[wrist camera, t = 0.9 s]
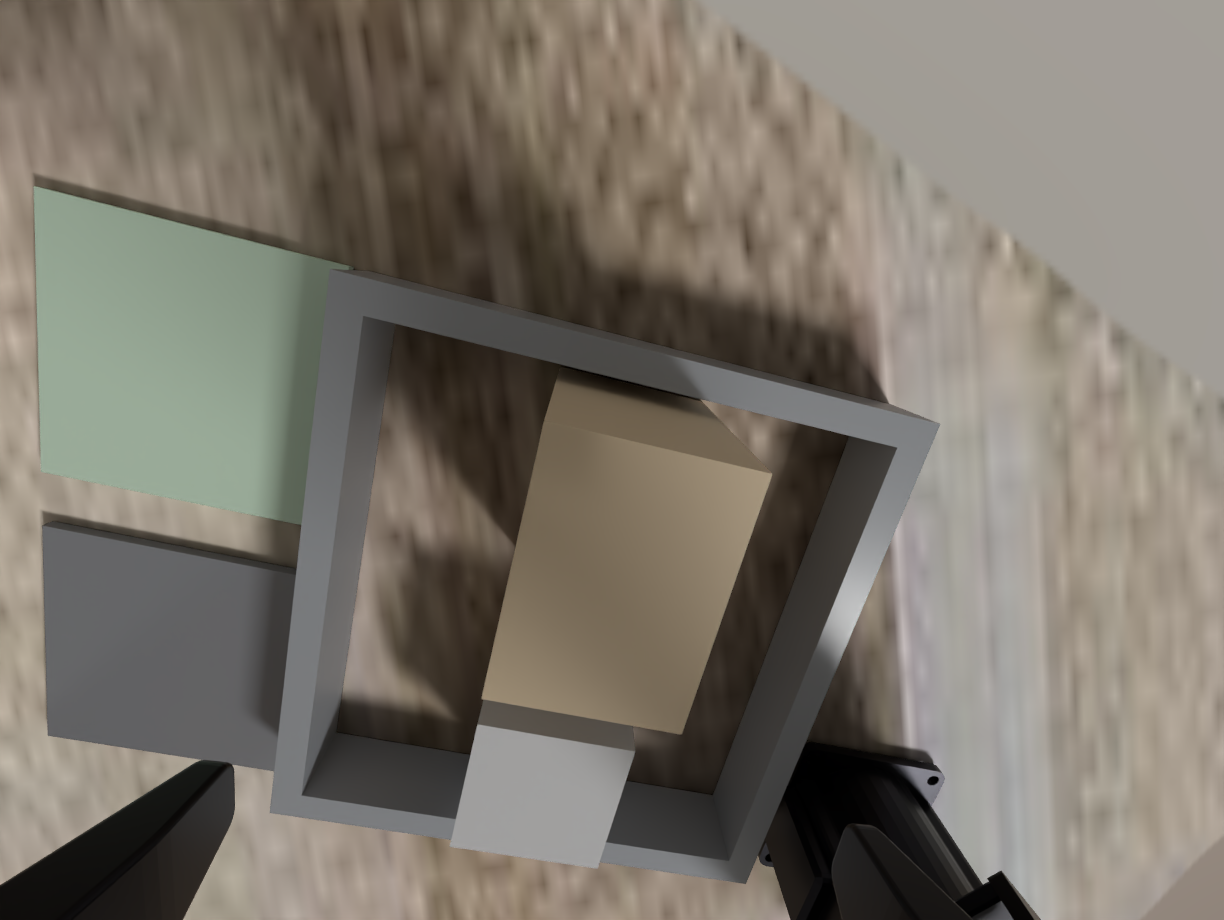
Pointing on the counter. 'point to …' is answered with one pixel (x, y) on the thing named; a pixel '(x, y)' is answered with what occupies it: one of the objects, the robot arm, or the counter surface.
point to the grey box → (542, 784)
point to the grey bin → (433, 779)
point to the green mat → (175, 357)
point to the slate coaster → (164, 646)
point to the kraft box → (623, 555)
